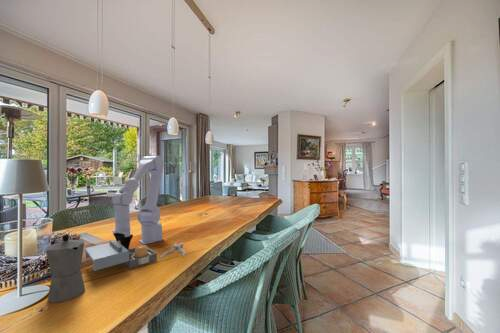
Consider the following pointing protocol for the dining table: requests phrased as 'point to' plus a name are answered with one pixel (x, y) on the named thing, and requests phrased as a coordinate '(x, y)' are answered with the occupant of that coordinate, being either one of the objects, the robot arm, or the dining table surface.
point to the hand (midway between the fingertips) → (123, 249)
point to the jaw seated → (140, 251)
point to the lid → (107, 255)
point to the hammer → (174, 249)
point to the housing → (140, 258)
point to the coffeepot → (65, 269)
